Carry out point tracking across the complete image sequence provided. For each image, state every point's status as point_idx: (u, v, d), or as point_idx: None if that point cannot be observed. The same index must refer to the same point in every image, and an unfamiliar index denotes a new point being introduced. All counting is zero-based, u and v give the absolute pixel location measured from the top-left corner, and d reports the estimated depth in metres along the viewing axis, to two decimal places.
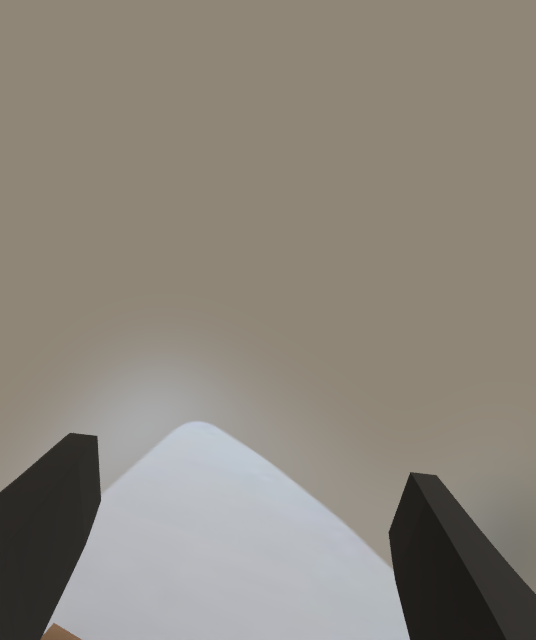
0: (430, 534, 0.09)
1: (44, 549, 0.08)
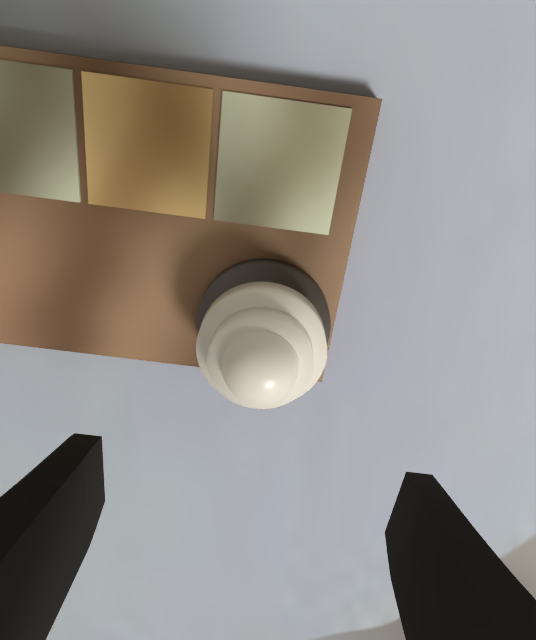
0: (425, 534, 0.09)
1: (49, 549, 0.08)
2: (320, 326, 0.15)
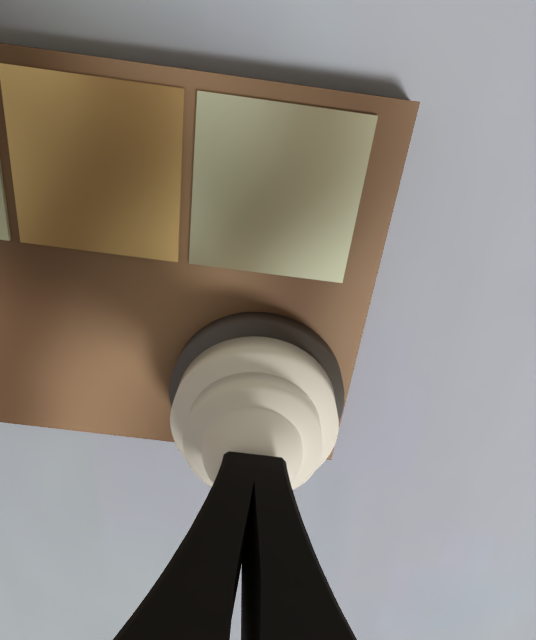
0: (253, 514, 0.09)
1: (238, 570, 0.08)
2: (330, 396, 0.12)
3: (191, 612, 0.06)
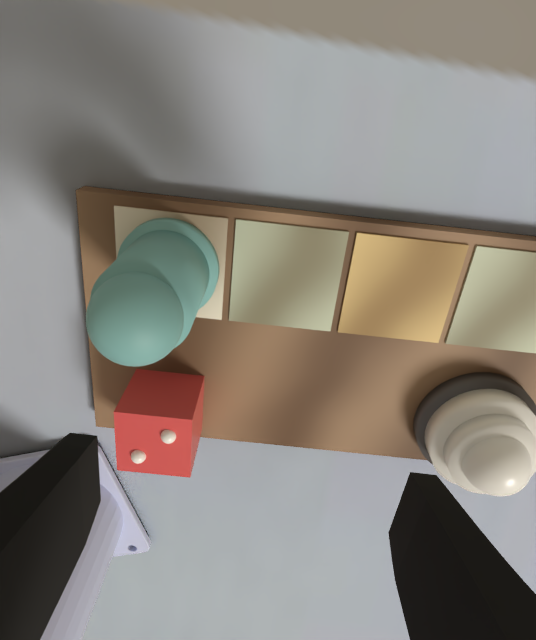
0: (430, 534, 0.09)
1: (44, 548, 0.08)
2: None
3: None
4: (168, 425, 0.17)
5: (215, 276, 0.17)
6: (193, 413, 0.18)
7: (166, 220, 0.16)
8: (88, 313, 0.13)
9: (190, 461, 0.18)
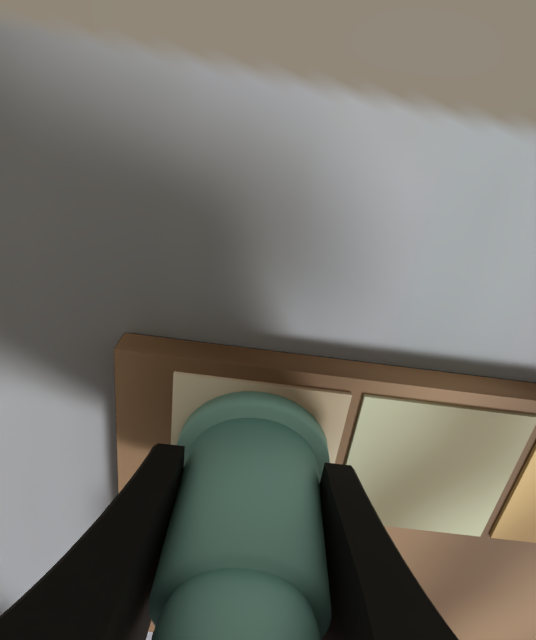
0: (332, 523, 0.09)
1: (151, 561, 0.08)
2: None
3: (75, 600, 0.06)
4: None
5: None
6: None
7: (256, 402, 0.10)
8: None
9: None
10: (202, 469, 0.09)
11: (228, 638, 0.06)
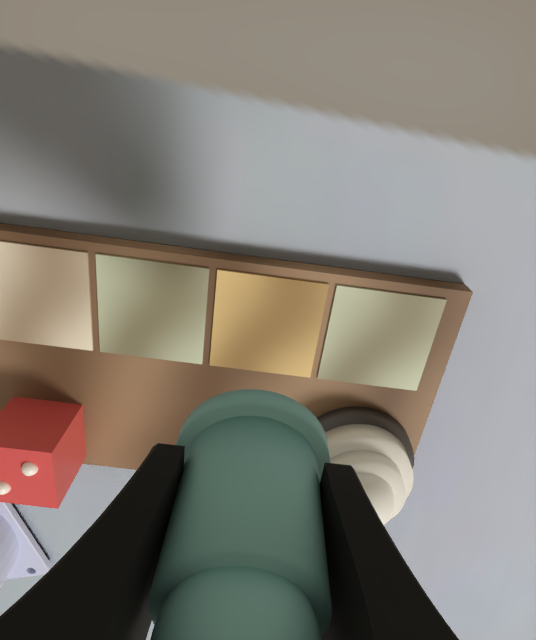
0: (332, 523, 0.09)
1: (151, 560, 0.08)
2: (409, 463, 0.19)
3: (75, 600, 0.06)
4: (29, 457, 0.17)
5: None
6: (55, 445, 0.18)
7: (256, 400, 0.10)
8: None
9: (56, 493, 0.18)
10: (202, 467, 0.09)
11: (228, 636, 0.06)
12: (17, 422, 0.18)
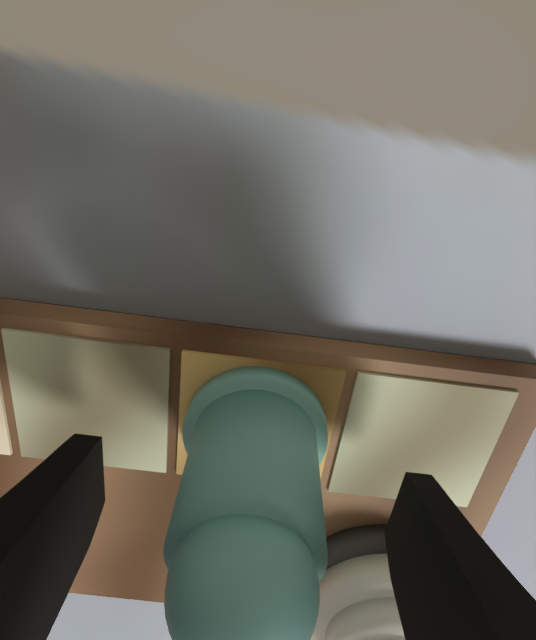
0: (425, 533, 0.09)
1: (50, 549, 0.08)
2: None
3: None
4: None
5: (324, 447, 0.12)
6: None
7: (260, 375, 0.11)
8: (174, 610, 0.07)
9: None
10: (210, 434, 0.10)
11: (236, 569, 0.07)
12: None
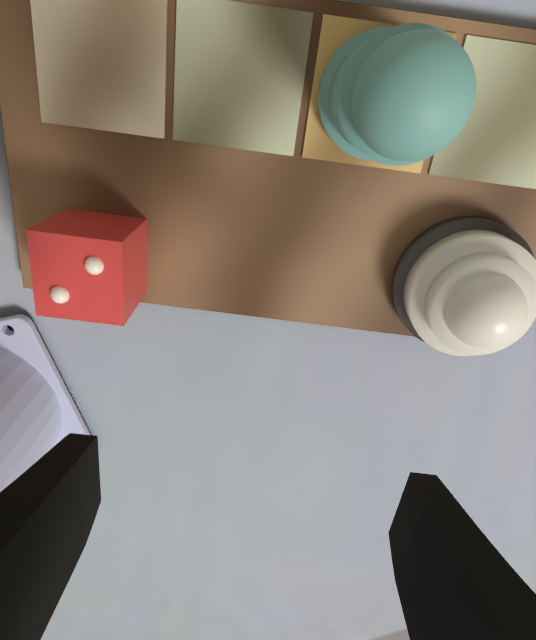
0: (430, 534, 0.09)
1: (44, 549, 0.08)
2: None
3: None
4: (94, 250, 0.14)
5: None
6: (125, 239, 0.15)
7: (390, 27, 0.14)
8: (375, 71, 0.10)
9: (123, 303, 0.15)
10: (361, 45, 0.13)
11: (424, 31, 0.10)
12: (75, 222, 0.16)
